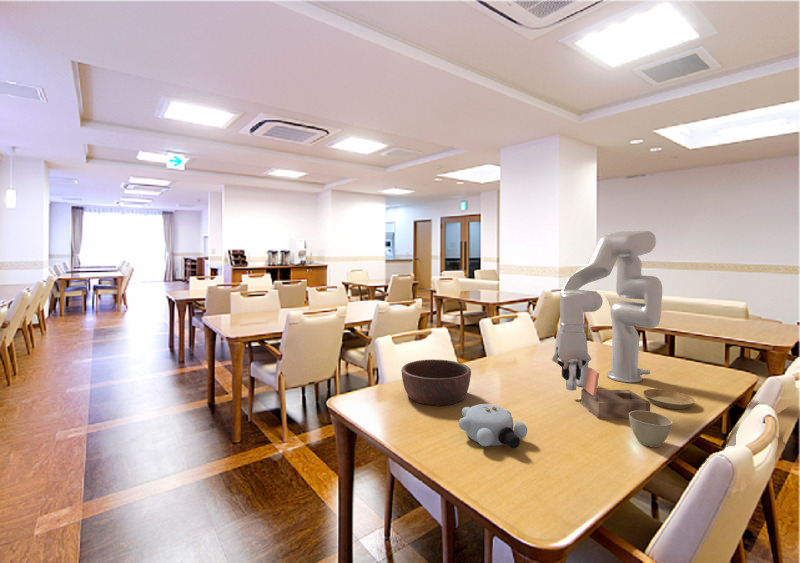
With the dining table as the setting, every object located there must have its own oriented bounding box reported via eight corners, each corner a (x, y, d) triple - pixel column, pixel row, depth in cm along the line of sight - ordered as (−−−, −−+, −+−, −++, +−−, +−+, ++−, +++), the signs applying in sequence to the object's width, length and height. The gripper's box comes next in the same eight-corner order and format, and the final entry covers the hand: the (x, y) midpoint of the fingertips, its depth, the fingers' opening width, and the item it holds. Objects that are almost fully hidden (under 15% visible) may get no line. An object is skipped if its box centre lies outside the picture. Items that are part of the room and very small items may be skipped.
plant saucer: (659, 393, 147) (659, 386, 147) (703, 407, 133) (704, 399, 133) (633, 399, 141) (633, 392, 140) (677, 415, 127) (677, 407, 127)
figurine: (446, 427, 118) (486, 467, 100) (448, 400, 116) (488, 435, 98) (494, 417, 125) (540, 453, 106) (496, 391, 123) (543, 423, 105)
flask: (596, 388, 152) (597, 362, 151) (576, 387, 153) (577, 361, 152) (591, 382, 159) (592, 357, 158) (572, 381, 160) (572, 356, 159)
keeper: (584, 389, 133) (587, 389, 133) (593, 395, 127) (595, 396, 127) (588, 367, 132) (590, 367, 132) (596, 372, 126) (599, 373, 126)
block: (628, 403, 136) (628, 386, 136) (649, 418, 124) (650, 399, 124) (579, 403, 136) (580, 386, 136) (596, 418, 124) (597, 399, 124)
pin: (574, 386, 144) (575, 355, 143) (580, 390, 139) (580, 358, 138) (562, 386, 144) (562, 355, 143) (567, 391, 139) (567, 359, 138)
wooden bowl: (484, 395, 145) (484, 367, 144) (442, 415, 127) (442, 384, 126) (430, 380, 162) (430, 355, 161) (387, 396, 144) (387, 368, 143)
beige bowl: (672, 455, 101) (673, 428, 101) (627, 446, 107) (628, 420, 106) (670, 440, 110) (671, 414, 109) (628, 431, 115) (629, 407, 114)
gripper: (590, 325, 143) (589, 374, 145) (544, 326, 143) (544, 376, 145) (600, 329, 136) (599, 381, 137) (551, 331, 136) (551, 383, 138)
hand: (571, 378), depth 141 cm, fingers closed on pin, 3 cm apart
